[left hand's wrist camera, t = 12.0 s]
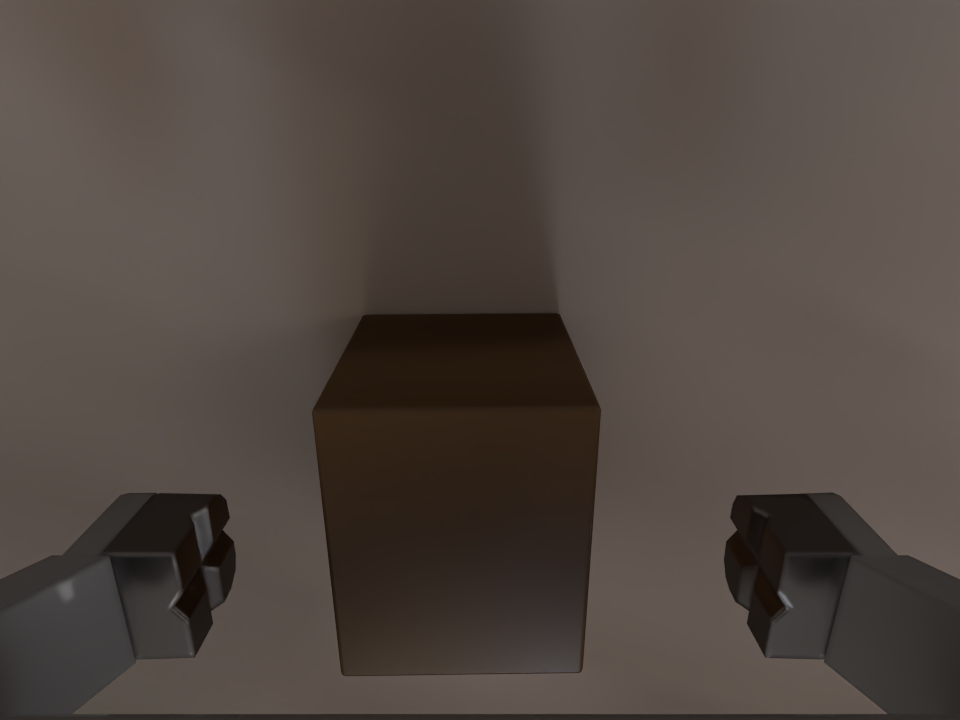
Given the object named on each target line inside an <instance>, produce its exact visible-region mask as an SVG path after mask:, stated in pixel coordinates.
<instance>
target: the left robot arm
mask: <svg viewBox="0 0 960 720" xmlns="http://www.w3.org/2000/svg"><path fill="white" fill-rule="evenodd" d="M229 518H230V516H229V511H228V506H227V502H226V499H225V498H224V497H223V496H222V495H221V494H180V493H159V494H157V493H127V494H123V495H120V496H119V497H118V498H117V499H116V500H115V501H114V502H113V503H112V504H111V505H110V506H109V507H108V508H107V509H106V510H105V511H104V513H103V514H102V515H101V516H100V517H99V518H98V519H97V520H96V521H95V522H94V523H93V524H92V525H91V526H90V527H89V528H88V529H87V530H86V531H85V532H84V533H83V534H82V535H81V536H80V537H79V538H78V539H77V541H76V542H75V543H74V544H73V545H72V546H71V547H70V548H69V549H68V550H67V551H66V552H65V553H64V554H63V555H52V556H49V557H47V558H45V559H43V560H41V561H39V562H37V563H34V564H32V565H30V566H28V567H26V568H24V569H22V570H19V571H17V572H15V573H13V574H11V575H9V576H6V577H4V578H2V579H0V720H960V579H958V578H956V577H953V576H951V575H949V574H947V573H945V572H943V571H941V570H938V569H936V568H934V567H932V566H930V565H928V564H926V563H923V562H921V561H919V560H917V559H915V558H913V557H911V556H908V555H897V554H896V553H895V552H894V551H893V550H892V549H891V548H890V547H889V546H888V545H887V544H886V543H885V541H884V540H883V539H882V538H881V537H880V536H879V535H878V534H877V533H876V532H875V531H874V530H873V529H872V528H871V527H870V526H869V525H868V524H867V523H866V522H865V521H864V520H863V519H862V518H861V517H860V515H859V514H858V513H857V512H856V511H855V510H854V509H853V508H852V507H851V506H850V505H849V504H848V503H847V502H846V501H845V500H844V499H843V498H842V497H841V496H840V495H837V494H835V493H832V492H830V493H803V494H774V495H737V496H736V498H735V500H734V502H733V505H732V511H731V516H730V518H731V520H732V522H733V523H734V525H735V527H736V528H737V531H736V532H735V533H734V534H733V535H732V536H731V537H730V538H729V539H728V540H727V541H726V547H725V555H724V565H725V576H726V580H727V583H728V587H729V590H730V592H731V594H732V596H733V598H734V600H735V602H737V603H738V604H740V605H741V606H742V607H744V608H745V609H747V610H748V611H749V615H748V620H747V624H748V626H749V628H750V630H751V632H752V634H753V636H754V638H755V639H756V641H757V643H758V645H759V647H760V649H761V651H762V652H763V654H764V656H765V658H793V659H825V660H824V662H825V663H826V664H827V665H828V666H830V667H831V668H832V669H833V670H835V671H836V672H837V673H838V674H839V675H841V676H842V677H843V678H844V679H846V680H847V681H848V682H849V683H851V684H852V685H853V686H854V687H856V688H857V689H858V690H859V691H861V692H862V693H863V694H864V695H865V696H867V697H868V698H869V699H870V700H872V701H873V702H874V703H875V704H877V705H878V706H879V707H880V708H882V709H883V710H884V711H885V712H886V713H888V714H72V713H74V712H75V711H76V710H77V709H79V708H80V707H81V706H82V705H84V704H85V703H86V702H87V701H89V700H90V699H91V698H92V697H94V696H95V695H96V694H97V693H98V692H100V691H101V690H102V689H103V688H105V687H106V686H107V685H108V684H110V683H111V682H112V681H113V680H115V679H116V678H117V677H118V676H120V675H121V674H122V673H123V672H125V671H126V670H127V669H128V668H129V667H131V666H132V665H133V664H134V663H136V660H135V659H166V658H195V656H196V654H197V653H198V651H199V649H200V647H201V645H202V643H203V641H204V639H205V638H206V636H207V634H208V632H209V630H210V628H211V626H212V625H213V620H212V614H211V611H212V610H213V609H215V608H216V607H218V606H219V605H220V604H222V603H223V602H225V600H226V598H227V596H228V594H229V592H230V590H231V587H232V583H233V579H234V574H235V570H236V553H235V546H234V541H233V540H232V539H231V538H230V537H229V536H228V535H227V534H226V533H225V532H224V531H223V528H224V527H225V525H226V523H227V522H228V520H229Z"/></svg>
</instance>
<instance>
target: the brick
mask: <svg viewBox="0 0 960 720" xmlns="http://www.w3.org/2000/svg"><path fill="white" fill-rule="evenodd" d="M312 416H313V425H314V434H315V443H316V452H317V460H318V469H319V478H320V487H321V496H322V505H323V514H324V523H325V532H326V541H327V550H328V559H329V568H330V577H331V586H332V595H333V604H334V613H335V622H336V631H337V640H338V648H339V657H340V666H341V673H342V675H344V676H389V675H461V674H534V673H579V672H581V671H582V668H583V657H584V643H585V629H586V615H587V600H588V586H589V572H590V558H591V544H592V530H593V516H594V502H595V488H596V473H597V459H598V445H599V431H600V417H601V408H600V406H599V403H598V401H597V399H596V397H595V394H594V392H593V390H592V387H591V385H590V383H589V381H588V378H587V376H586V374H585V371H584V369H583V367H582V364H581V362H580V360H579V358H578V355H577V353H576V351H575V348H574V346H573V344H572V341H571V339H570V337H569V335H568V332H567V330H566V328H565V325H564V323H563V321H562V319H561V316H560V314H557V313H545V314H426V315H364V316H363V317H362V319H361V321H360V322H359V324H358V326H357V328H356V330H355V332H354V334H353V336H352V337H351V339H350V341H349V343H348V345H347V347H346V349H345V351H344V352H343V354H342V356H341V358H340V360H339V362H338V364H337V366H336V367H335V369H334V371H333V373H332V375H331V377H330V379H329V381H328V382H327V384H326V386H325V388H324V390H323V392H322V394H321V396H320V397H319V399H318V401H317V403H316V405H315V407H314V409H313V412H312Z"/></svg>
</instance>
